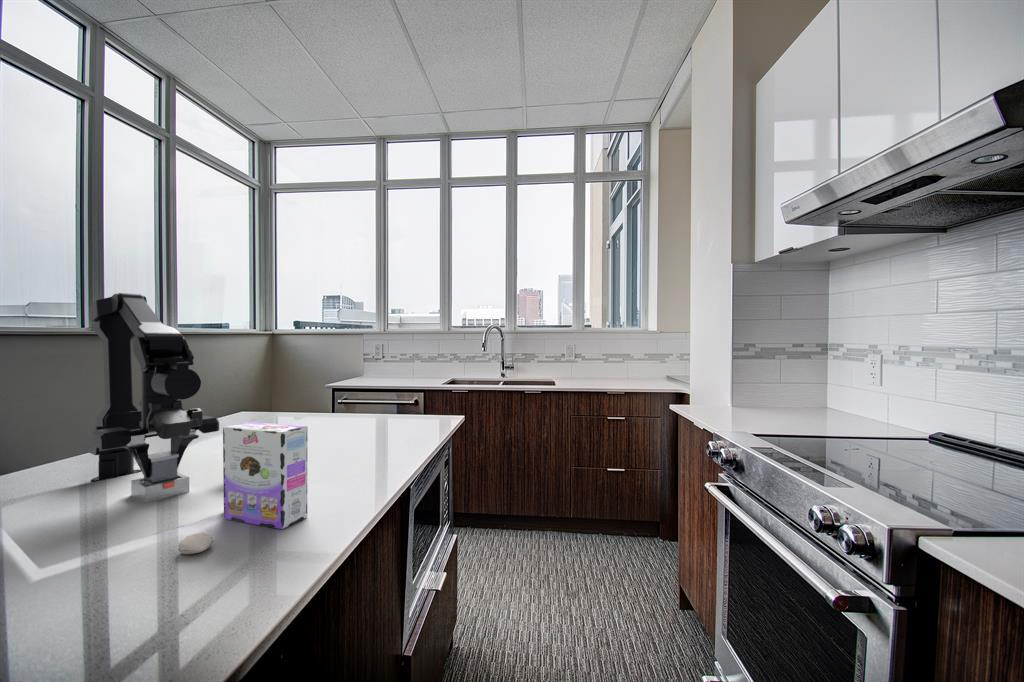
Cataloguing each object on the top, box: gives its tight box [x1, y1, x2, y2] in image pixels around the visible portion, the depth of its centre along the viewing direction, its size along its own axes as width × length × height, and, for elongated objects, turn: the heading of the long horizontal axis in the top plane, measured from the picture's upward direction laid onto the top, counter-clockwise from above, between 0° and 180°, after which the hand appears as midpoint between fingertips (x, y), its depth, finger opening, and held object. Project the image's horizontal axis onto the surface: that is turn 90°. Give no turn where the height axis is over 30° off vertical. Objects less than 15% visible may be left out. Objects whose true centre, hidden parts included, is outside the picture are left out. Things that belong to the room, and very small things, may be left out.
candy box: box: [222, 421, 308, 530], centre depth 77 cm, size 14×6×16 cm, turn 71°
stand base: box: [130, 471, 190, 504], centre depth 85 cm, size 12×12×4 cm
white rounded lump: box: [177, 532, 214, 555], centre depth 65 cm, size 4×5×2 cm
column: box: [141, 450, 179, 485], centre depth 85 cm, size 5×5×8 cm
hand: (160, 474), depth 85 cm, fingers closed on column, 4 cm apart
